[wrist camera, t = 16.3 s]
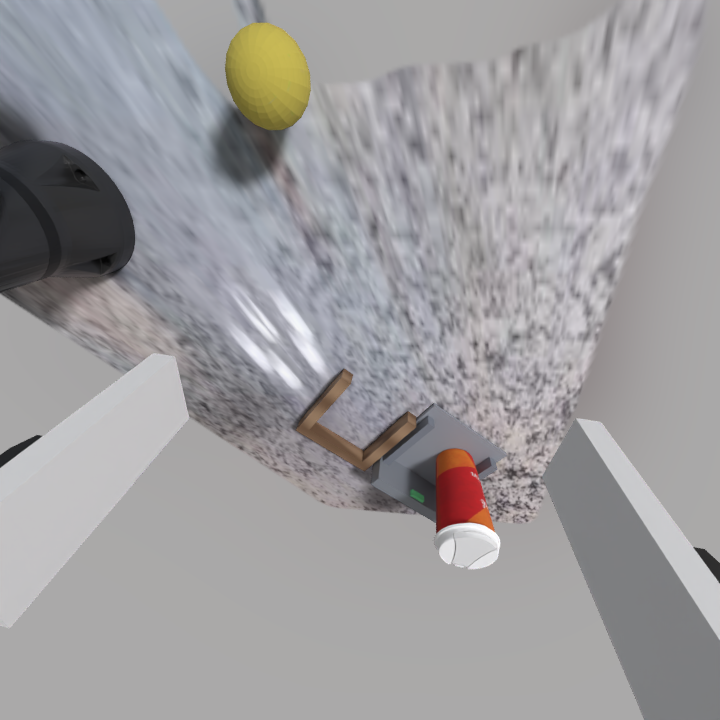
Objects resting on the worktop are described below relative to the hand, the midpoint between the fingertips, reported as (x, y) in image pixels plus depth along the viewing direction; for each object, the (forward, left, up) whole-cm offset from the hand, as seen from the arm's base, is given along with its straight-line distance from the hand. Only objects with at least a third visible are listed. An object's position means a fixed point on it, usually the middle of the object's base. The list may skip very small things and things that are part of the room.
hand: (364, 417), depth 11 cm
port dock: (+12, -33, -32) cm, 47 cm away
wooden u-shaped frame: (-2, -28, -32) cm, 42 cm away
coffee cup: (+15, -33, -31) cm, 48 cm away
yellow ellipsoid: (-12, +12, -32) cm, 36 cm away
